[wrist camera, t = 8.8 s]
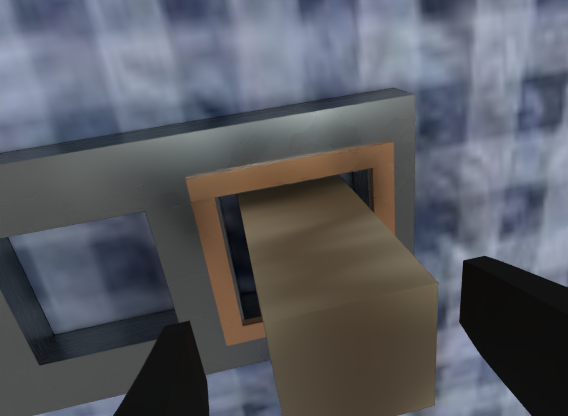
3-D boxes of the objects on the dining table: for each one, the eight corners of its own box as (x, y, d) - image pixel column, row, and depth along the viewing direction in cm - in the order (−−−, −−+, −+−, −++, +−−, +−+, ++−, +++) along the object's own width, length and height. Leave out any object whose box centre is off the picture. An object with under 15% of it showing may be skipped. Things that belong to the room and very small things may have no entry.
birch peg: (336, 172, 15) (438, 282, 8) (343, 257, 16) (434, 405, 10) (236, 191, 14) (264, 323, 8) (253, 277, 16) (288, 444, 9)
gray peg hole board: (394, 87, 14) (418, 95, 12) (397, 302, 17) (415, 329, 16) (-362, 213, 11) (-451, 242, 10) (-168, 431, 15) (-210, 477, 14)
